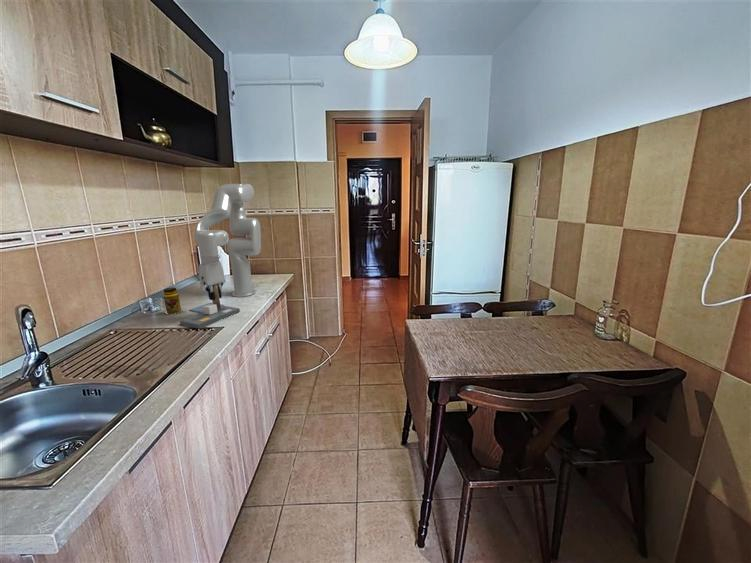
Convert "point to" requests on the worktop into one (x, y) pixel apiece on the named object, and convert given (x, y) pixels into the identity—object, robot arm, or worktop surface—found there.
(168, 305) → the condiment
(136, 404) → the worktop surface
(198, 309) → the tool mat
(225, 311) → the switch board
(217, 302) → the dowel
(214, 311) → the white cube
